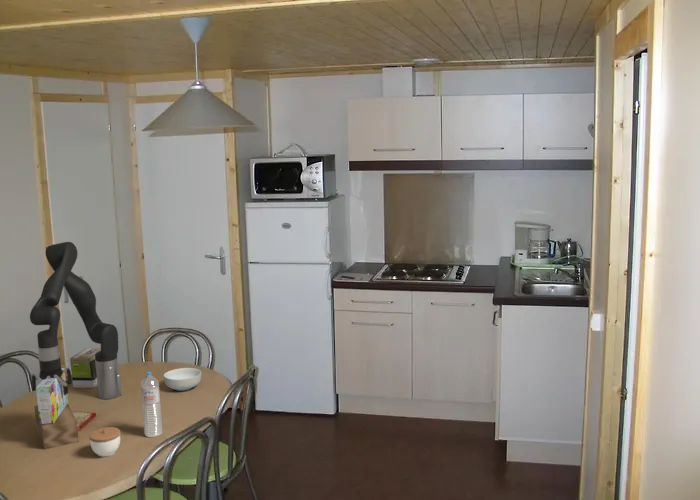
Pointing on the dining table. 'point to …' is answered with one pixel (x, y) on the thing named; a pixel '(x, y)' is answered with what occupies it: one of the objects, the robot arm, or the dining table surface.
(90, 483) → the dining table surface
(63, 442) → the walnut stand
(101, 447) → the lidded jar
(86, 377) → the tea box
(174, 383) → the cereal bowl
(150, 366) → the dining table surface
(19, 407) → the dining table surface
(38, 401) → the snack box
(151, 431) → the water bottle
